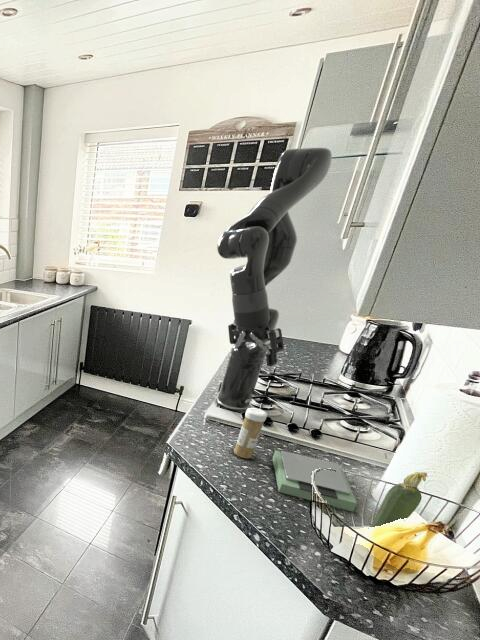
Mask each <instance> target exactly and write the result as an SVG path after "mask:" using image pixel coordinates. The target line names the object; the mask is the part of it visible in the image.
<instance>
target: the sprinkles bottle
mask: <svg viewBox="0 0 480 640" xmlns="http://www.w3.org/2000/svg"><path fill="white" fill-rule="evenodd" d="M267 416H268V413H267V412H266V411H265V410H263V409H260V408H257V407H249V408H248V409H247V410H245V414H244V419H243V422H242V425H241V426H240V430H239V434H238V436H237V440H236V444H235V446H234V449H233V453H234V454H235V455H236V456H237V457H239V458H242V459H252V458H253V456H254V452H255V449H256V446H257V444H258V440H259V438H260V436H261V431H262V428H263V426H264V423H265V421H266V420H267V418H268V417H267Z"/></svg>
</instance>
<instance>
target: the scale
mask: <svg viewBox="0 0 480 640" xmlns="http://www.w3.org/2000/svg"><path fill="white" fill-rule="evenodd" d="M280 452H281V451H280V450H274V452H273V455H272V464H273V467H274V473H275V478H276V479H275V480H276V485H277V491H278V493H281V494H284V495H289V496H293V497H296V498H299V499H304V500H308V501H311V492H312V491H311V486H310V485H306V484H302V483H297V482H293V481H289V480H286V478H285V473H284V469H283V464H282V459H281V455H280ZM338 465H339V464H338ZM339 467H340V470H341V472H342V475H343V477H344V479H345V482H346V484H347V487H348V489H349V491H350V495H349V496H348V495H344V494H340V493H336V492H333V491H329V490H325V489H322V488H318V490H319V492H320V493H321V495H322V496H323V498H324V499H326V500H327V503H329V504H331V505H332V506H331V507H334V508H338V509H341V510H345V511H349V512H354V511H355V509H356V506H357V504H358V503H357V500H356V498H355V495H354V493H353V491H352V487H351V486H350V483H349V480H348V478H347V476H346V473H345V471H344V469H343V467H342V465H339ZM332 501H333V502H332Z"/></svg>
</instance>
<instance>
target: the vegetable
mask: <svg viewBox="0 0 480 640" xmlns="http://www.w3.org/2000/svg"><path fill="white" fill-rule="evenodd" d="M428 477H429V476H428V474H427V472H423V471H415V473H411V474H408V475H407V476H405V477H404V479H403V482H401V483H396V484H395V485H393V486H391V488H390V489H389V490H388V491H387V493H386V494H385V496H384V498H383V500H382V502H381V504H380V507H379V509H378V510H377V513H376V515H375V516H374V518H373V520H372V521H371V523H370V525H369V527H375V526H381V525H383V524H386V523H390V522H393V521H395V520H398V519H400V518H401V519H404V518H407V519H408V518H410V517H411V515H412V514H413V513H414V512H415V511H416V509H417V508H418V506H419V505H420V504H421V501H422V497H423V496H422V493H421V491H420V489H419V485H420V483H421V482H422V481H423V482H426V480H427V478H428Z"/></svg>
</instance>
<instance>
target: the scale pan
mask: <svg viewBox="0 0 480 640" xmlns="http://www.w3.org/2000/svg"><path fill="white" fill-rule="evenodd" d="M279 452H280V455H281V459H282V464H283V469H284V473H285V478H286V480H289V481H293V482H297V483H302V484H306V485H310V486H311V473H312V471H314V470H315V469H319V468H331V469H334V470H336V471H338V472H339V473H337V472H335V471H330V470H321V471H319V472H317V474H316V475H315V481H316V485H317V487H318V488H322V489H325V490H329V491H333V492H336V493H340V494H344V495H348V496H349V495H350V491H349V489H348V487H347V484H346V482H345V479H344V477H343V475H342V472H341V470H340V467H339V463H338V462H337V463H336V462H333V461H329V460H325V459H321V458H317V457H312V456H307V455H303V454H298V453H294V452H289V451H286V450H280V451H279Z"/></svg>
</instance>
